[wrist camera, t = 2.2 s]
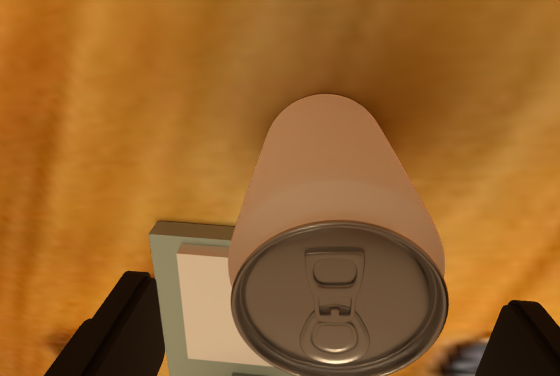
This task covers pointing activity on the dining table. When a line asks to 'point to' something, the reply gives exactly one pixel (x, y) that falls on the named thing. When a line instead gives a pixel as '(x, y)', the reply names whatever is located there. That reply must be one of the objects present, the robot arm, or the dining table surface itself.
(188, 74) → the dining table surface
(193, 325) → the press
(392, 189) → the can
